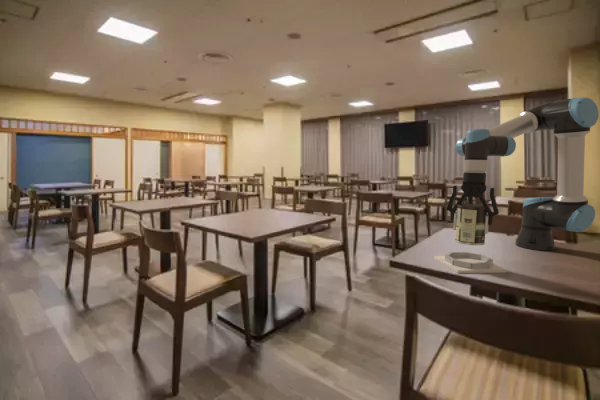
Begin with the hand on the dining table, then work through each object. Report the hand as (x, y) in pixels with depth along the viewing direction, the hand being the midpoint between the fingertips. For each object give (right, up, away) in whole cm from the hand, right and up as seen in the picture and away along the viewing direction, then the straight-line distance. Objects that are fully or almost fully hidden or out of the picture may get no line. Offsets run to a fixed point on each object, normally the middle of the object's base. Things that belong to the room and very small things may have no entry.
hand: (470, 231), depth 129 cm
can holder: (0, -13, +2) cm, 13 cm away
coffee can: (0, -4, +1) cm, 4 cm away
